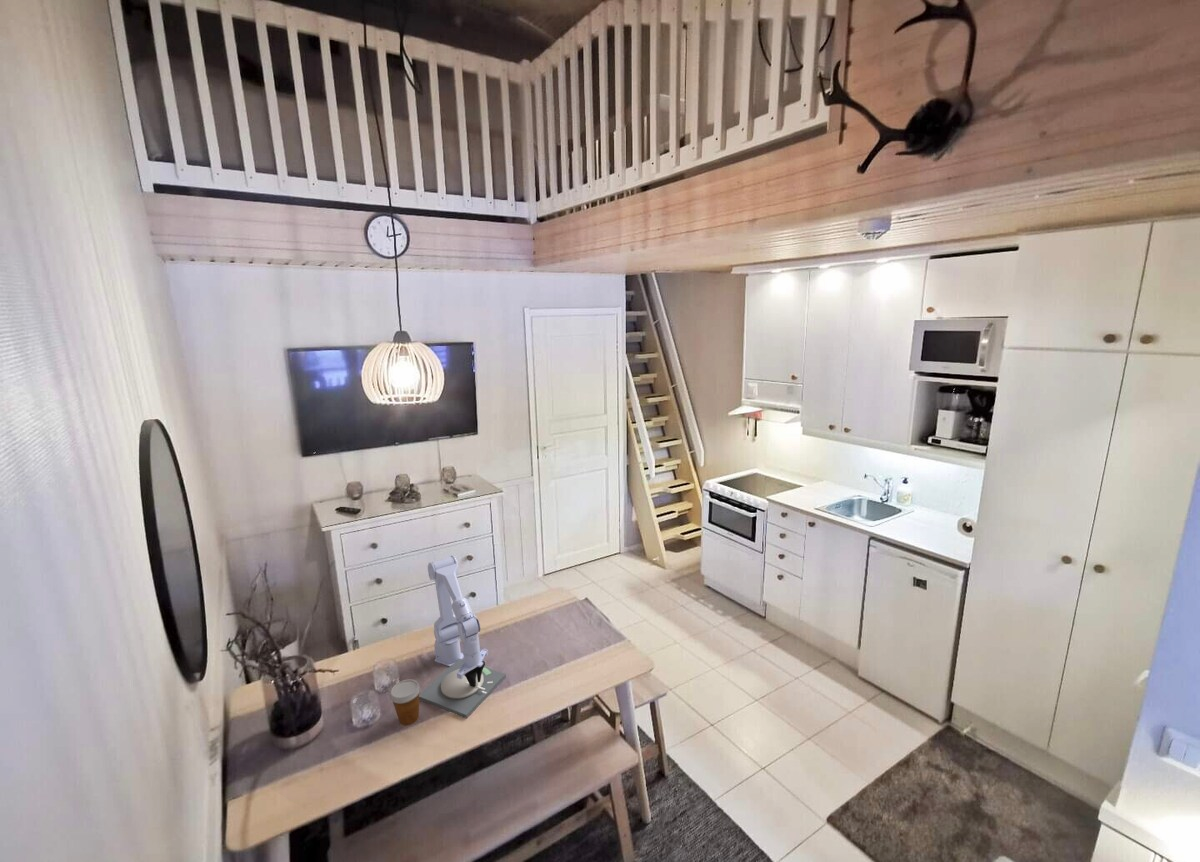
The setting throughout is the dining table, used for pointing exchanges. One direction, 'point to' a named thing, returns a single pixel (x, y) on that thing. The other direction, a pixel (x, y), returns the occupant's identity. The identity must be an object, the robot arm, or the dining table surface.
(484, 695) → the tuner board
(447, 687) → the beige oval dome
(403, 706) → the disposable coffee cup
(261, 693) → the dining table surface
